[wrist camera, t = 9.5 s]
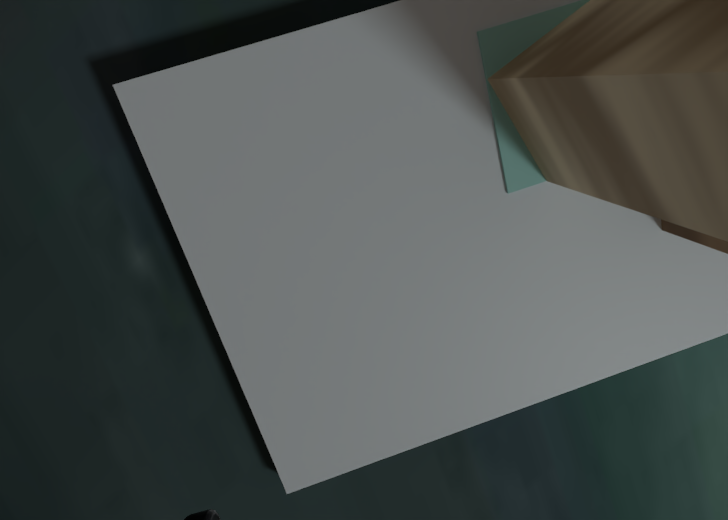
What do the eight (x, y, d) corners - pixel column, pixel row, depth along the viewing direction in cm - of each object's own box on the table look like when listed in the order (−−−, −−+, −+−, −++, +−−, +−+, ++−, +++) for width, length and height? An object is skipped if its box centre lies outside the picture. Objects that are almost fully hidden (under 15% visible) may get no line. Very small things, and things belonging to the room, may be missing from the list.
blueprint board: (286, 477, 23) (287, 495, 22) (120, 85, 18) (111, 84, 17) (733, 315, 25) (754, 325, 24) (718, -91, 19) (744, -101, 18)
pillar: (546, 181, 20) (982, 326, 8) (487, 79, 19) (917, 66, 6) (644, 107, 20) (1243, 141, 8) (592, -3, 18) (1242, -175, 6)
